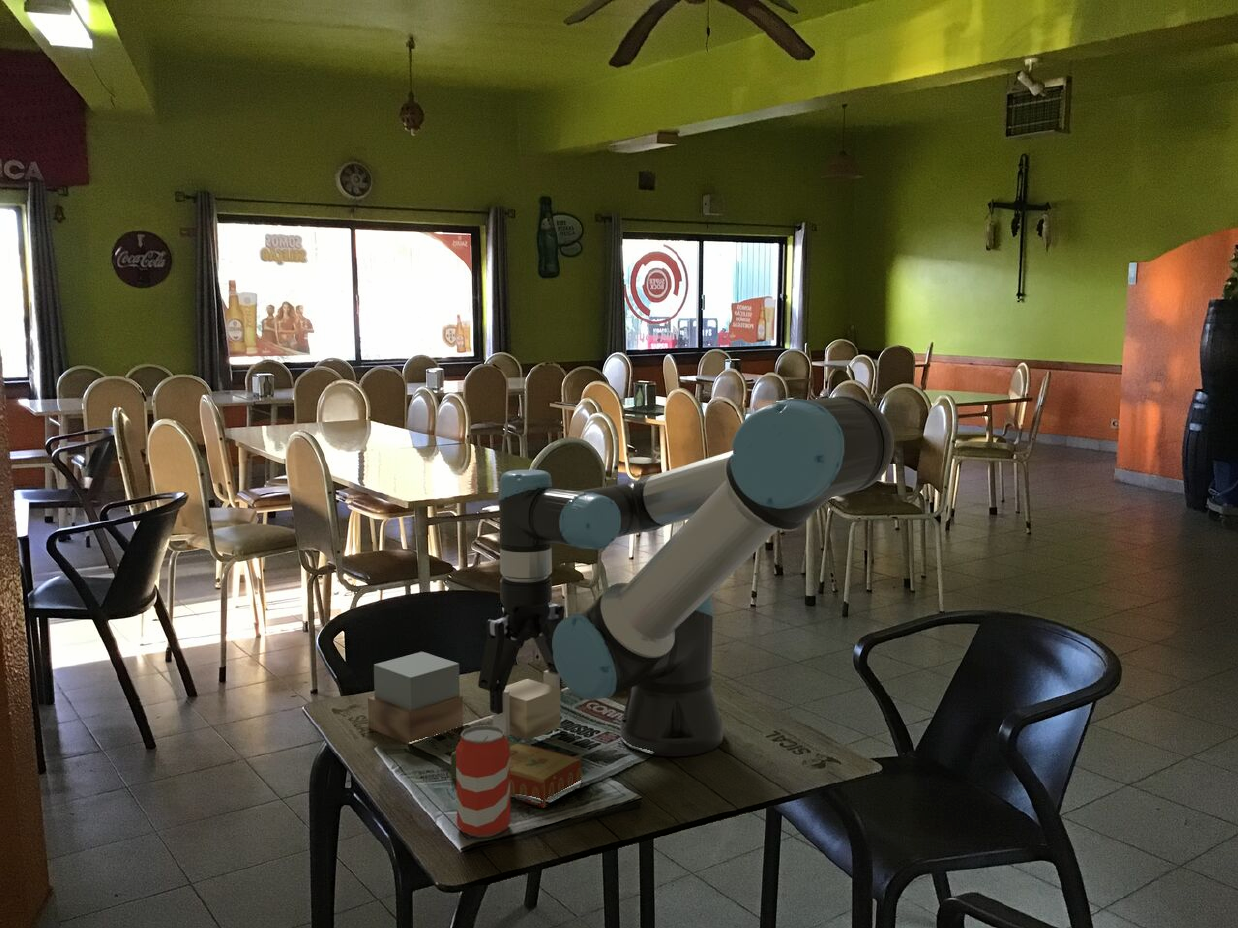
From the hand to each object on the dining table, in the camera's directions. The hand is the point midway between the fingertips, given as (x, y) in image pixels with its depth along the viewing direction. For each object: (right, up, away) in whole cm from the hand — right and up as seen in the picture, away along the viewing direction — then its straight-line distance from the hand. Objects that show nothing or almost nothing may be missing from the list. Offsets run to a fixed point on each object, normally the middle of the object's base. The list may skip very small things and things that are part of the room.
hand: (527, 723), depth 162 cm
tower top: (-17, +3, +3) cm, 17 cm away
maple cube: (0, -2, 0) cm, 2 cm away
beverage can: (-3, -6, -30) cm, 31 cm away
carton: (0, -4, -17) cm, 17 cm away
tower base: (-17, -2, +3) cm, 17 cm away
